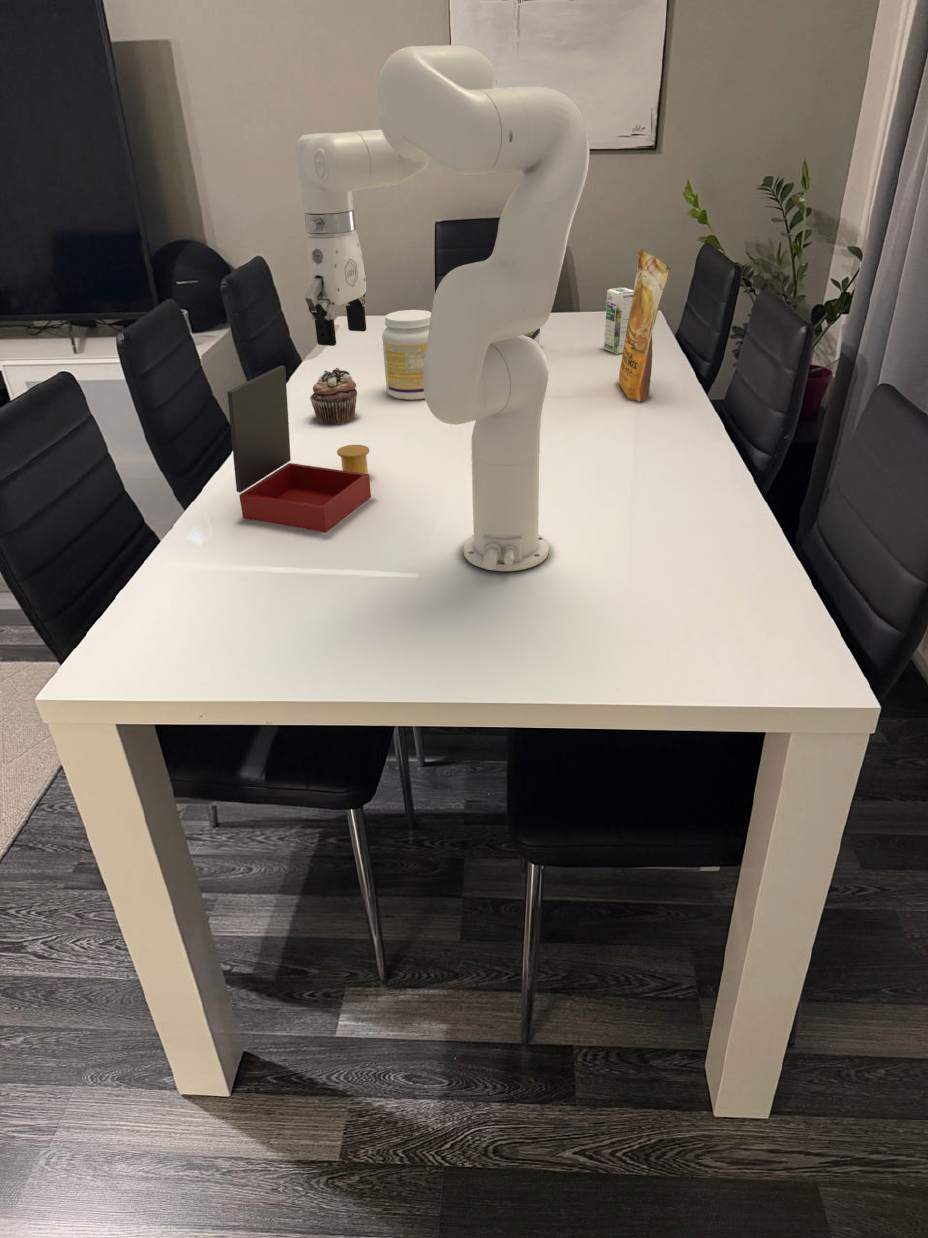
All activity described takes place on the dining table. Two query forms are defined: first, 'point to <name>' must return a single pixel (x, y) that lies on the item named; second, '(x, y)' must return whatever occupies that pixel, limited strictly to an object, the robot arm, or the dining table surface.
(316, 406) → the cupcake
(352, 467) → the brass drawer pull
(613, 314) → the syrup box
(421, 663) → the dining table surface
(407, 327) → the supplement tub
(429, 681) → the dining table surface
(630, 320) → the pancake mix bag
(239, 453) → the lid
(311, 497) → the red open tray
